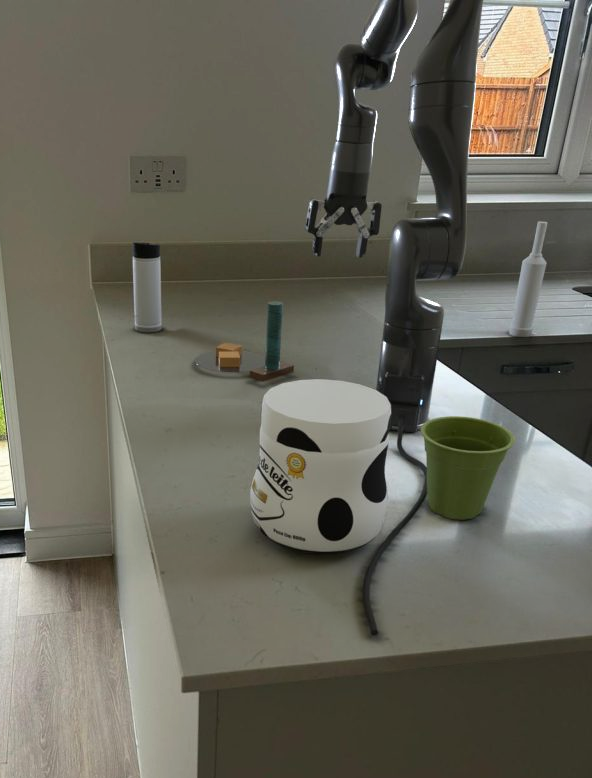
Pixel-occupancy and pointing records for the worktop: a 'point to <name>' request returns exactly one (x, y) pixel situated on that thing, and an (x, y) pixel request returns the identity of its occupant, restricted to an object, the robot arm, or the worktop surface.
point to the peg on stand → (273, 347)
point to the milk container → (321, 465)
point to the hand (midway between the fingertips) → (338, 256)
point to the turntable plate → (246, 364)
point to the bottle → (529, 287)
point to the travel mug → (147, 287)
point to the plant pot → (462, 463)
